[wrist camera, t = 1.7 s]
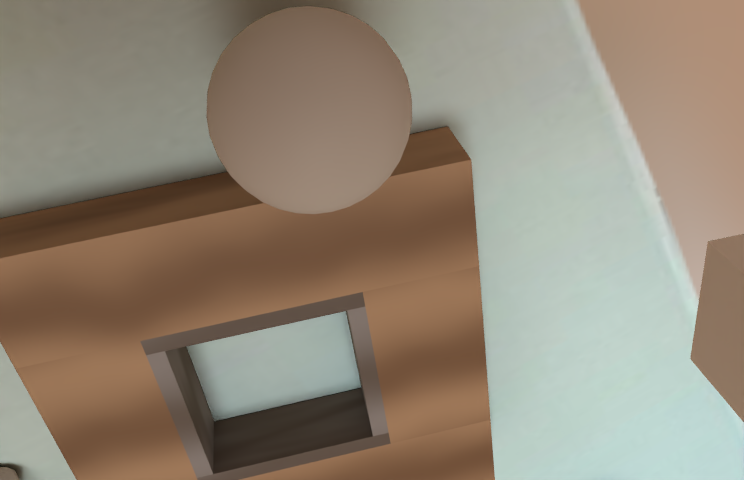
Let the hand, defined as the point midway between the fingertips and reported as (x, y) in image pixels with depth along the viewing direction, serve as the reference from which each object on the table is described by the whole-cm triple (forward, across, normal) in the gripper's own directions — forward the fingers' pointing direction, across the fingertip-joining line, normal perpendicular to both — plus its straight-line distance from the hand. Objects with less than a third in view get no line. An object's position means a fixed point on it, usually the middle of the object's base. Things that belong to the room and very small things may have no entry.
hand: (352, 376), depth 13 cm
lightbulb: (+19, 0, +1) cm, 19 cm away
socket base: (+19, -3, -14) cm, 24 cm away
